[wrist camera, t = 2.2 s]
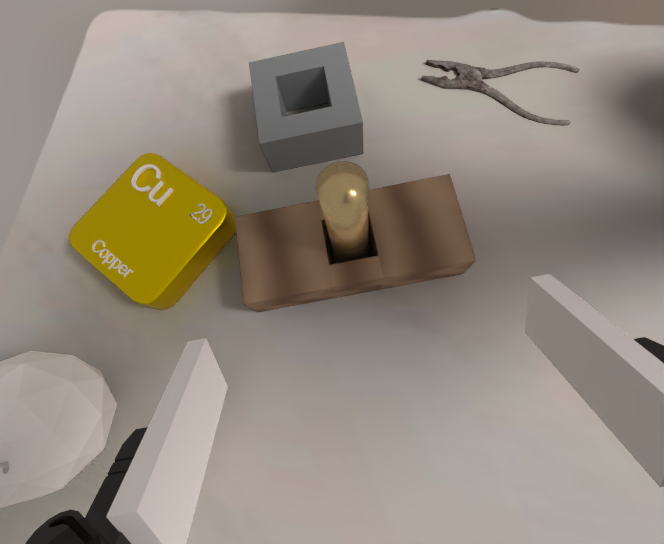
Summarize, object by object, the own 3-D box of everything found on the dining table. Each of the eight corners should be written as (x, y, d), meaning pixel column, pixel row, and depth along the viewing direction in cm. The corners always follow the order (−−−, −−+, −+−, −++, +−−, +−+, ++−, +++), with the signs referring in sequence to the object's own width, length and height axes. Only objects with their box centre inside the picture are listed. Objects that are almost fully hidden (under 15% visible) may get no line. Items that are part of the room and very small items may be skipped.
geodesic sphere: (162, 399, 34) (-18, 359, 25) (84, 551, 31) (-151, 565, 22) (126, 355, 45) (-11, 317, 36) (65, 466, 42) (-100, 453, 33)
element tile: (87, 249, 46) (56, 236, 42) (165, 165, 49) (144, 143, 44) (166, 317, 43) (141, 310, 38) (246, 222, 45) (232, 205, 41)
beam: (440, 196, 43) (449, 174, 39) (463, 273, 41) (475, 260, 36) (249, 234, 45) (234, 217, 40) (257, 312, 42) (243, 304, 37)
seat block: (346, 80, 50) (343, 41, 44) (363, 153, 46) (362, 122, 40) (262, 98, 50) (248, 62, 44) (272, 172, 47) (259, 143, 41)
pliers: (585, 123, 44) (419, 119, 46) (581, 128, 45) (419, 123, 47) (579, 60, 46) (422, 59, 49) (576, 65, 47) (421, 64, 50)
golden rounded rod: (364, 234, 43) (362, 157, 28) (371, 265, 42) (373, 202, 27) (331, 240, 43) (312, 167, 28) (337, 271, 42) (320, 213, 27)
